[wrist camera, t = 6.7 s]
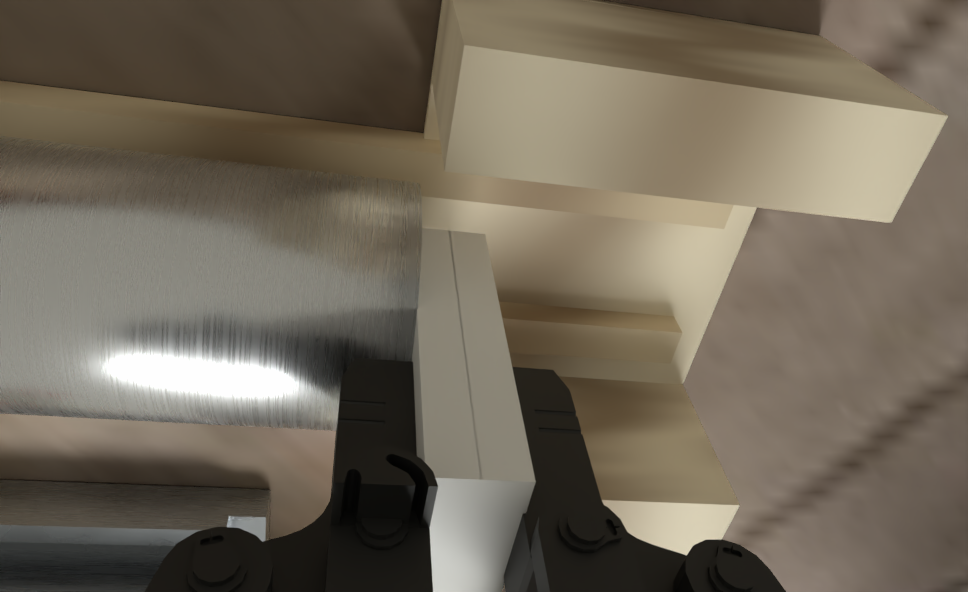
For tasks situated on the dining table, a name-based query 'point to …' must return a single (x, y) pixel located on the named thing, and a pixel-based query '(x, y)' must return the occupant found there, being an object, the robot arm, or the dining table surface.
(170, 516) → the v block
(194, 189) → the axle
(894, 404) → the dining table surface
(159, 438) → the dining table surface
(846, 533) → the dining table surface
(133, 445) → the dining table surface
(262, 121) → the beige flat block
